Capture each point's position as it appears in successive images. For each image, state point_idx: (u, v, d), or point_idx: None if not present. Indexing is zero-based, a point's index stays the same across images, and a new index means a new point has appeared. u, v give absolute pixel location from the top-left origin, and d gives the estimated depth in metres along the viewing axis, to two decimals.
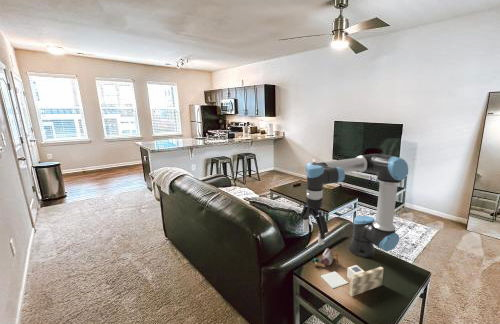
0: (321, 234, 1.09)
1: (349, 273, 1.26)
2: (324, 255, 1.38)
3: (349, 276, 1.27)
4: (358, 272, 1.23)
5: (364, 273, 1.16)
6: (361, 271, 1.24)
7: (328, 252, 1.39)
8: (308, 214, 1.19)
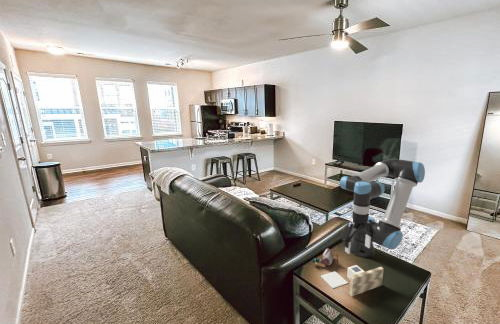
0: None
1: (349, 273, 1.26)
2: (324, 255, 1.38)
3: (349, 276, 1.27)
4: (358, 272, 1.23)
5: (364, 273, 1.16)
6: (361, 271, 1.24)
7: (328, 252, 1.39)
8: (364, 229, 1.23)
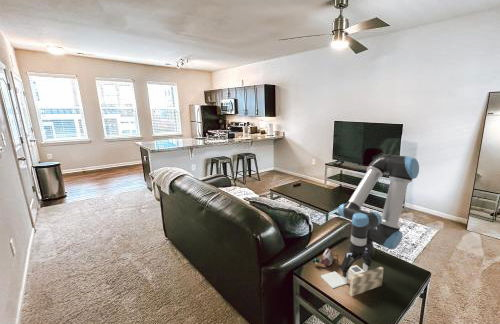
0: None
1: (349, 273, 1.26)
2: (324, 255, 1.37)
3: (349, 276, 1.27)
4: (358, 272, 1.23)
5: (364, 273, 1.16)
6: (361, 271, 1.24)
7: (328, 252, 1.39)
8: (361, 258, 1.26)
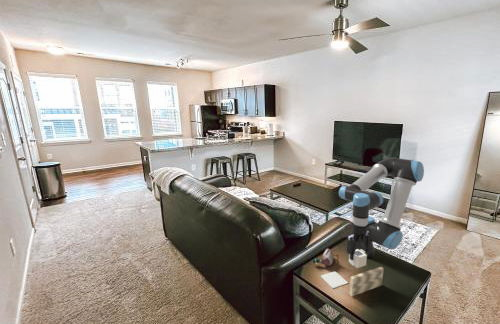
0: None
1: None
2: (325, 255, 1.37)
3: None
4: (360, 256, 1.21)
5: (364, 273, 1.16)
6: (363, 255, 1.22)
7: (328, 252, 1.38)
8: (361, 241, 1.24)
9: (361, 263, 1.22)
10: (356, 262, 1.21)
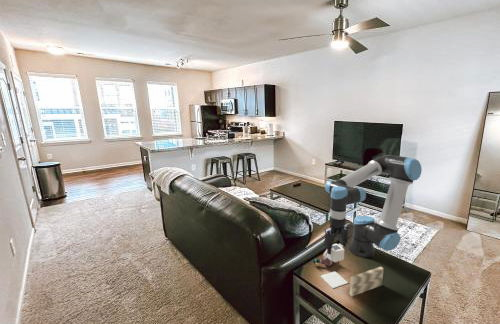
0: None
1: None
2: (325, 255, 1.37)
3: None
4: (337, 250, 1.20)
5: (364, 273, 1.16)
6: (341, 249, 1.21)
7: None
8: (339, 235, 1.22)
9: (339, 257, 1.21)
10: (334, 256, 1.20)
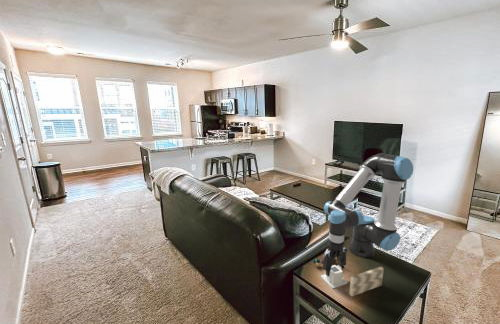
0: None
1: None
2: None
3: None
4: (336, 272, 1.23)
5: (364, 273, 1.16)
6: (339, 271, 1.24)
7: None
8: (337, 257, 1.25)
9: (337, 279, 1.23)
10: (332, 278, 1.23)
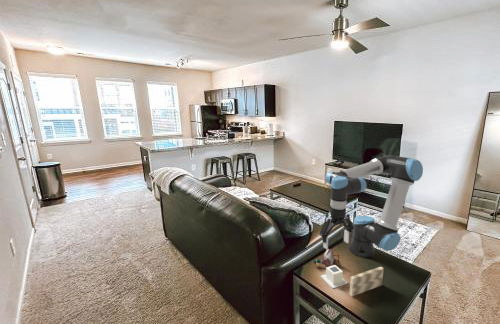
0: None
1: (327, 273, 1.26)
2: (325, 256, 1.37)
3: (327, 276, 1.26)
4: (336, 272, 1.23)
5: (364, 273, 1.16)
6: (339, 271, 1.24)
7: (329, 252, 1.38)
8: (342, 224, 1.22)
9: (337, 279, 1.23)
10: (332, 278, 1.23)
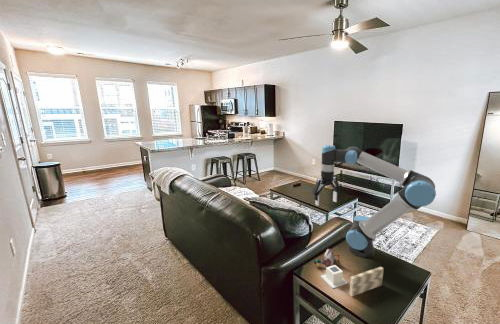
0: None
1: (327, 273, 1.26)
2: (326, 256, 1.37)
3: (327, 276, 1.26)
4: (336, 272, 1.23)
5: (364, 273, 1.16)
6: (339, 271, 1.24)
7: (330, 253, 1.38)
8: (331, 186, 1.47)
9: (337, 279, 1.23)
10: (332, 278, 1.23)
